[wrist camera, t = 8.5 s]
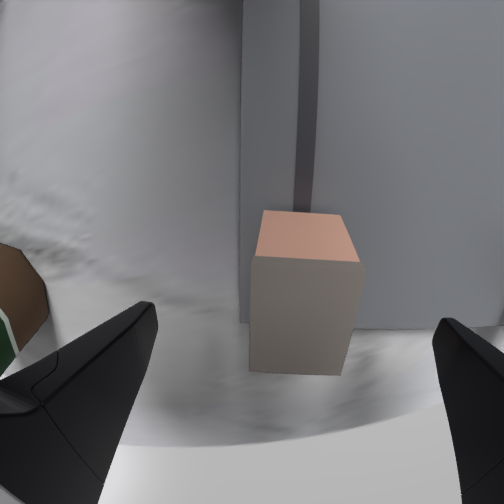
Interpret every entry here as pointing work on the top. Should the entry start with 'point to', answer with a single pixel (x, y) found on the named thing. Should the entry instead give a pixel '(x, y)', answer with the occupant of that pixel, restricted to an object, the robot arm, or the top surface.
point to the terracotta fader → (303, 294)
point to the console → (382, 146)
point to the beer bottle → (18, 303)
